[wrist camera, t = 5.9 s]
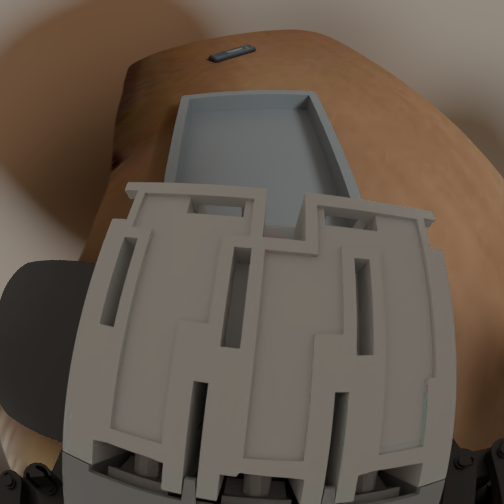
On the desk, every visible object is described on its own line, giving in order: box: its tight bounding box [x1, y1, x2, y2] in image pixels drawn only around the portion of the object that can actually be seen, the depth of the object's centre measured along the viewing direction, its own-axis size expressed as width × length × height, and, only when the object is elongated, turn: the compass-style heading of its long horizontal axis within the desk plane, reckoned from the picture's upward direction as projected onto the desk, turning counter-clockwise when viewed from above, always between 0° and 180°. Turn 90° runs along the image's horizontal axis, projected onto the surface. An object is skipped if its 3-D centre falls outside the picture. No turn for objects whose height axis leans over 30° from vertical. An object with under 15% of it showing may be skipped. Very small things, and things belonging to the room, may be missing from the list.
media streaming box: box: [0, 260, 96, 442], centre depth 17 cm, size 15×15×3 cm
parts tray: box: [164, 90, 362, 228], centre depth 25 cm, size 22×16×3 cm
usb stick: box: [209, 45, 256, 63], centre depth 41 cm, size 10×3×2 cm, turn 131°
